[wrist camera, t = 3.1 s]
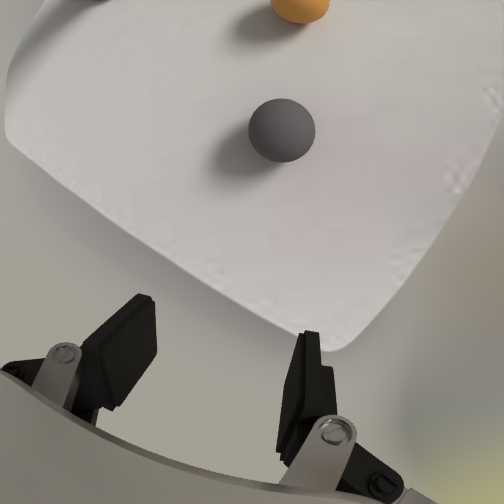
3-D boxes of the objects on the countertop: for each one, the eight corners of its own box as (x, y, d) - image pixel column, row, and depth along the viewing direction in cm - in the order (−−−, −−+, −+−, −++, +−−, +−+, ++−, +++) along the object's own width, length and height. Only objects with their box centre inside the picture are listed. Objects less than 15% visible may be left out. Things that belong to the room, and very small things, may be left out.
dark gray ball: (260, 167, 25) (251, 168, 20) (248, 112, 24) (235, 100, 19) (318, 157, 24) (324, 155, 19) (306, 101, 23) (307, 85, 18)
